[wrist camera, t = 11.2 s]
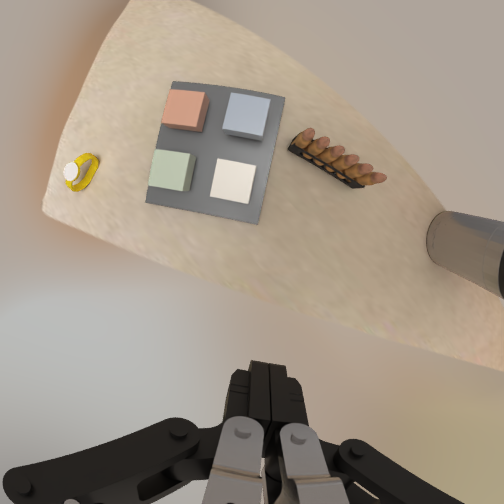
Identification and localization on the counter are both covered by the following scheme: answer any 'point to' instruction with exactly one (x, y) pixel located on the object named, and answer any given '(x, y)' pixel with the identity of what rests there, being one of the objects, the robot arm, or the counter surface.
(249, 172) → the cream key
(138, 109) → the counter surface
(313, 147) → the ammunition clip
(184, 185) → the sage key
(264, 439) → the robot arm
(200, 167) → the keypad board
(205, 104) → the terracotta key
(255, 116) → the slate key
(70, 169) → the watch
